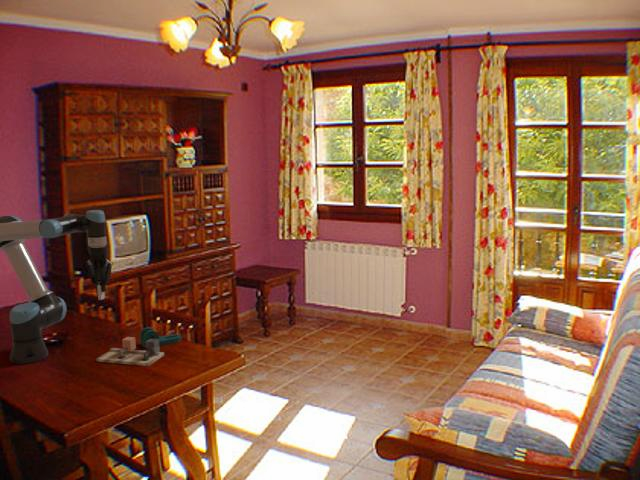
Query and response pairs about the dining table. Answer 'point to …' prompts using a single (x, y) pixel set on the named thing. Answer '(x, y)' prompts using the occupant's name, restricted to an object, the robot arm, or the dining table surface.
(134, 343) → the block
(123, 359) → the gauge board
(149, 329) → the teal curved handle
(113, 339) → the dining table surface
